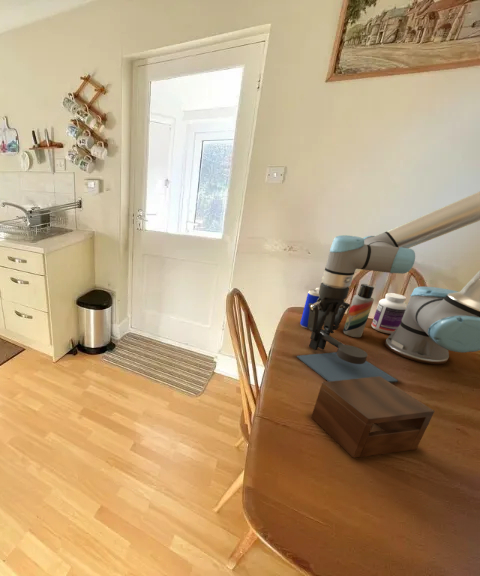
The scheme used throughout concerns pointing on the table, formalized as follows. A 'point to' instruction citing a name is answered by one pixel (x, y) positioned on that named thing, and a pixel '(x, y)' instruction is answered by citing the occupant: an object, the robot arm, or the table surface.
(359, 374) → the mat
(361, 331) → the lotion bottle
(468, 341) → the robot arm
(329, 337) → the small frying pan
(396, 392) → the wooden box
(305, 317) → the beverage can
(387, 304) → the pill bottle
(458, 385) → the table surface
